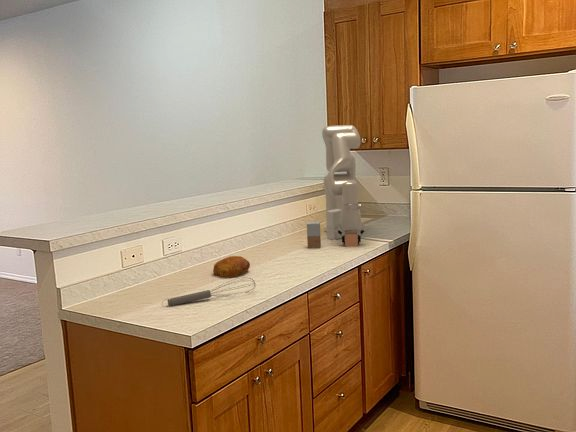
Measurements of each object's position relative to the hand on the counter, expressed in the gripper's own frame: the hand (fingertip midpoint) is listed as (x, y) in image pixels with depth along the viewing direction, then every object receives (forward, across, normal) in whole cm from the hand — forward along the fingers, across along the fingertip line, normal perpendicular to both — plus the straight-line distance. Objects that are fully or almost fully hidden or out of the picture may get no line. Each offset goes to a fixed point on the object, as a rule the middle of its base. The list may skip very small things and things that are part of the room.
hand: (351, 243), depth 281 cm
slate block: (-5, +18, +2) cm, 19 cm away
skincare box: (+1, +8, -19) cm, 21 cm away
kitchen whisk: (+1, +48, +87) cm, 99 cm away
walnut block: (+1, +18, +2) cm, 18 cm away
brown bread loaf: (+1, +49, +50) cm, 70 cm away
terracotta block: (+1, 0, 0) cm, 1 cm away
